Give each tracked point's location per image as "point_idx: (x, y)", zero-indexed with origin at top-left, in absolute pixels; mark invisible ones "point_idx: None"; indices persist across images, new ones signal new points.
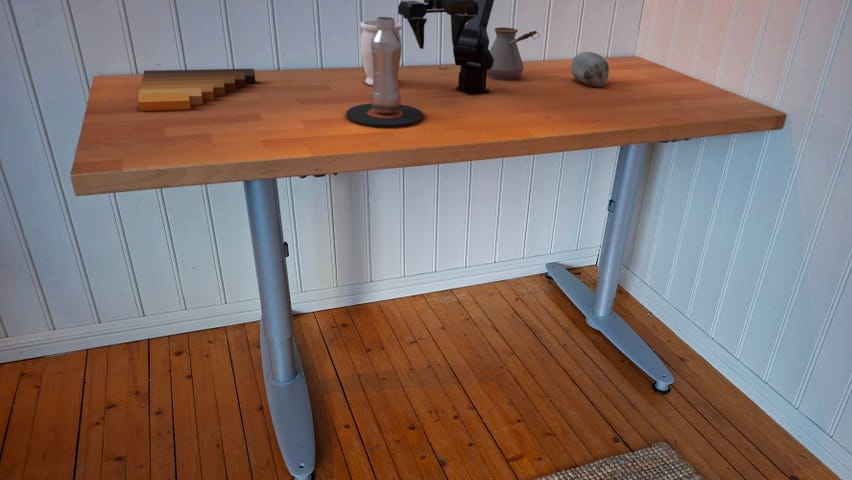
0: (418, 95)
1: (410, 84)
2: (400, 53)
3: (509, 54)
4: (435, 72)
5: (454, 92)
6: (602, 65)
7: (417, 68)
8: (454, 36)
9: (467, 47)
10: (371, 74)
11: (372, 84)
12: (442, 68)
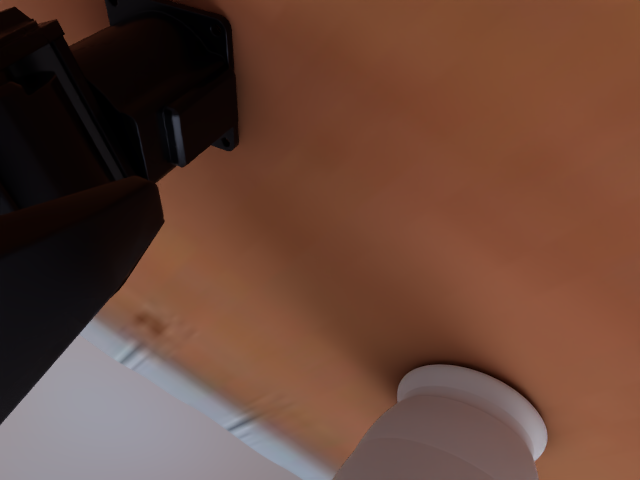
0: (492, 206)
1: (373, 323)
2: (361, 478)
3: None
4: (190, 324)
5: (277, 111)
6: None
7: (221, 381)
8: (67, 279)
9: (24, 193)
10: (537, 476)
11: (545, 430)
12: (148, 328)
